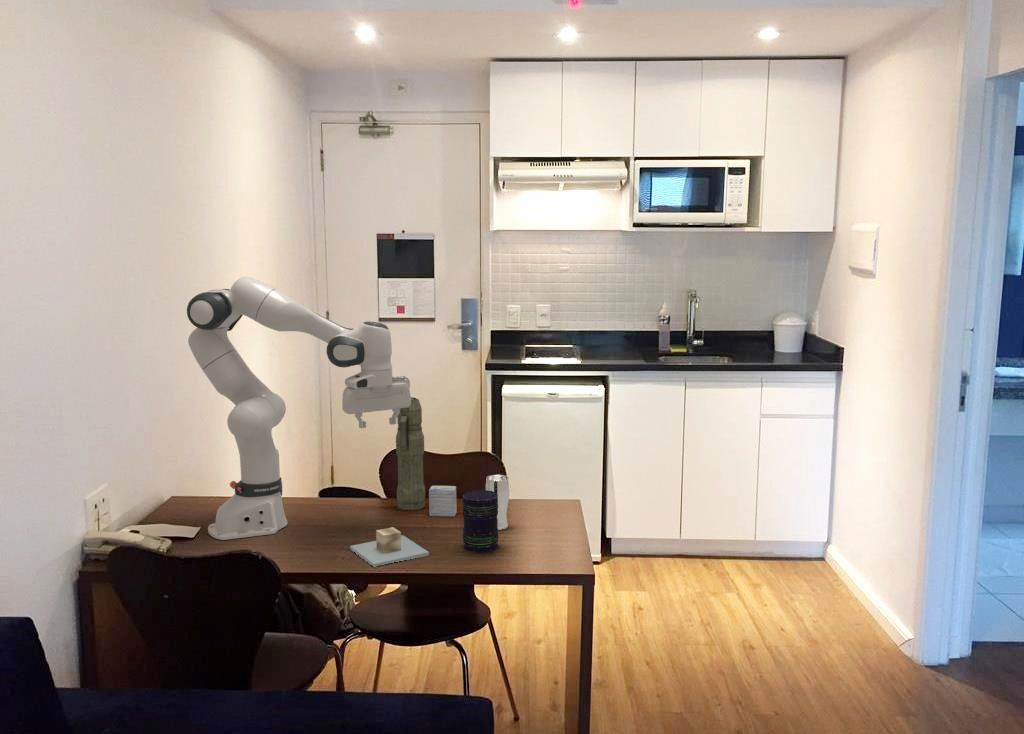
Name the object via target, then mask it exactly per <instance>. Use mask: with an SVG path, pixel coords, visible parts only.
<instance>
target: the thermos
mask: <svg viewBox="0 0 1024 734" xmlns="http://www.w3.org/2000/svg"><path fill="white" fill-rule="evenodd" d="M422 410H423V409H422V404H421V402H420V399H418V398H416V397H411V405H410V406H409V407H408V408H400V413H399V415H398V416H397V418H396V424H397V431H396V432H397V433H396V436H395V453H396V457H397V482H398V483H397V488H396V500H397V509H398V508H399V509H402V510H419V509H422V508H424V507H425V508H426V503H425V500H426V486H425V482H424V453H425V436H424V433H423V427H422V423H423V419H422V418H423V417H422V416H423V415H422V414H423V413H422ZM425 508H424V509H425ZM399 509H398V510H399ZM402 510H401V511H402ZM422 510H423V509H422ZM419 511H420V510H419Z"/></svg>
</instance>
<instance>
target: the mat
mask: <svg viewBox="0 0 1024 734" xmlns="http://www.w3.org/2000/svg"><path fill="white" fill-rule="evenodd" d="M350 549H351V550H350ZM349 550H350V551H352V552H353V553H354V552H355V553H356V555H357V556H358V555H359V556H358V557H360V558H361V559H362V560H363V559H364V560H363V561H364V562H365V563H367V562H368V563H367V564H368V565H370V566H371V565H372V566H373V568H374V567H375V568H377V567H376V566H379V565H384V564H388V563H393V564H395V563H394V562H398V563H400V562H399V561H402V562H405V561H404V560H407V561H411V560H416V559H420V558H424V557H428V556H430V552H429V551H428V550H426V549H424V547H422V546H420V545H419V544H417V543H415V542H414V541H413V540H411V539H409V538H408V537H406V536H405V535H402V534H401V550H399V551H394V552H389V553H383V552H381V551H380V550H379V549H377V544H376V540H373V541H368V542H364V543H359V544H358V543H357V544H353V545H350V546H349ZM355 553H354V554H355ZM415 558H416V559H415ZM410 559H411V560H410ZM372 566H371V567H372ZM384 566H385V565H384Z"/></svg>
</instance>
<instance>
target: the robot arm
mask: <svg viewBox="0 0 1024 734" xmlns="http://www.w3.org/2000/svg"><path fill="white" fill-rule="evenodd" d="M186 315H187V318H188V321H190V324H192V325H193V326H194V327H196V328H195V329H193V331H192V332H190V334H189V336H188V341H187V343H188V346H189V349H190V351H191V353H192V355H193V357H194V359H195V361H196V362H197V363H198V365H199V367H200V369H201V370H202V372H203V373H204V374H205V376H206V377H207V379H208V380H209V382H210V383H211V385H212V386H213V387H214V389H215V390H216V392H217V393H219V395H221V396H223V397H226V398H227V399H228V400H229V401H231V402H232V403H233V404H234V405H235V406H234V407H233V409H231V411H230V412H229V414H228V416H227V421H226V422H227V428H228V430H229V432H230V433H231V434H232V435H233V436H234V439H235V442H236V446H237V449H238V454H239V463H240V464H239V465H240V480H239V481H238V482H236V481H235V480H232V481H231V482H230V483H229V487H230V488H231V489H233V490H234V494H233V495H232V496H231V497H230V498H229V499H227V500H226V501H225V502H224V503H223V504H221V505H220V506H219V507H218V509H217V511H216V516H215V522H213V523H211V524H209V525H208V526H207V533H208V534H209V535H210V536H211V537H213V539H217V540H221V541H224V540H226V541H227V540H235V539H241V538H249V537H250V538H251V537H258V536H260V537H261V536H266V535H273V534H277V532H278V531H279V530H282V528H285V527H286V526H287V525H288V520H287V518H286V517H287V516H286V514H285V510H284V504H283V498H282V496H283V481H282V477H281V475H280V473H281V472H280V468H281V467H280V454H279V450H278V449H277V448H276V445H275V443H274V439H273V434H272V431H273V428H275V427H277V426H278V425H279V424H280V423H281V422H282V420H283V418H284V416H285V415H286V411H287V405H286V402H285V400H284V399H283V397H281V396H280V395H279V394H277V393H275V392H273V391H272V390H271V389H270V388H269V387H268V386H266V384H265V383H263V382H262V380H261V379H260V378H258V376H256V374H254V373H253V372H252V370H251V368H250V367H249V366H248V365H247V363H246V362H245V360H244V359H243V357H242V356H241V355H240V353H239V352H238V350H237V349H236V348H235V345H234V344H232V342H231V340H230V338H229V336H228V332H230V331H232V330H233V329H234V327H235V326H236V325H237V323H238V322H239V321H240V320H241V318H243V316H245V317H247V318H249V319H250V320H251V319H252V320H253V321H254V322H257V323H258V324H259V325H261V326H263V327H265V328H268V329H271V330H274V331H277V332H300V333H304V334H308V335H311V336H313V337H315V338H317V339H319V340H321V341H323V342H325V343H327V346H326V356H327V358H328V360H329V362H330V363H331V364H332V365H334V366H336V367H338V368H350V367H352V366H360V371H359V372H358V373H355V374H354V375H351V376H348V377H346V378H345V379H344V385H345V386H346V387H345V388H344V390H343V393H342V400H341V406H342V407H341V408H342V411H343V412H344V413H345V414H348V415H354V417H355V418H356V420H357V421H358V428H359V429H365V428H367V422H366V421H365V420H363V419H362V417H363V414H364V413H365V414H366V413H371V412H372V413H373V412H380V411H389V410H392V412H393V413H392V416H391V417H388V420H389V422H388V423H389V425H392V426H393V425H396V424H397V416H398V415H399V413H400V408H408V407H409V406H410V405H411V390H410V388H411V382H410V379H409V378H408V377H406V375H404V376H403V375H402V376H401V375H400V376H393V365H392V361H391V359H392V353H393V350H392V349H393V348H392V337H391V336H392V335H391V332H390V329H389V327H388V326H387V325H386V324H383V323H381V322H377V321H363V322H362V323H361V324H360V325H358V326H357V327H355V328H349V327H345V326H342V325H340V324H339V323H336V322H334V321H333V320H330V319H328V318H326V317H324V316H322V315H320V314H319V313H316V312H314V311H312V310H311V309H309V308H308V307H306V306H304V305H303V304H301V303H300V302H298V301H297V300H296V299H294V298H292V297H291V296H289V295H288V294H286V293H284V292H282V291H281V290H279V289H278V288H276V287H275V286H272V285H270V284H268V283H266V282H263V281H261V280H258V279H256V278H252V277H248V276H243V277H242V276H241V277H239V278H238V279H237V280H236V281H234V282H233V284H232V286H231V287H230V289H229V288H221V289H217V288H216V289H211V290H208V291H205V292H200V293H198V294H197V295H194V296H193V297H192V298H191V299H190V300H189V302H188V304H187V307H186Z"/></svg>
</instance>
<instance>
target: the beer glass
mask: <svg viewBox="0 0 1024 734" xmlns="http://www.w3.org/2000/svg"><path fill="white" fill-rule="evenodd" d="M485 480H486V481H485V490H488V491H493V492H496V493H497V494H498V498H497V499H498V515H497V528H498V531H500V530H501V531H503V530H506V529H507V528H508V527H509V526H508V525H509V524H508V517H507V512H508V506H509V499H510V481H509V476H508V475H504V474H491V475H487V476H486V479H485ZM502 529H503V530H502Z"/></svg>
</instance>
